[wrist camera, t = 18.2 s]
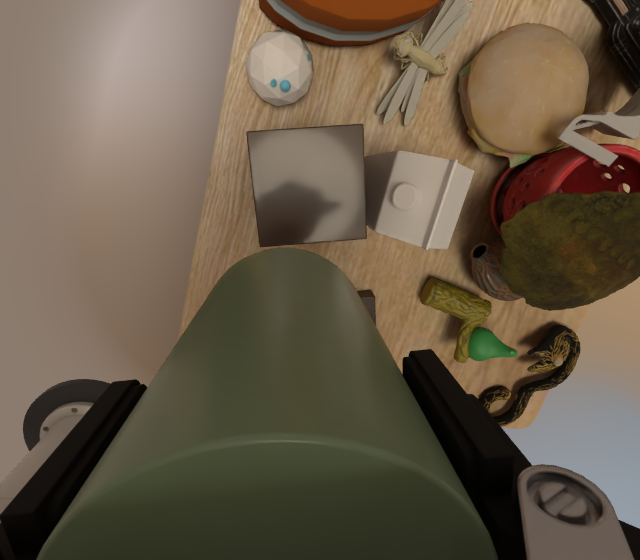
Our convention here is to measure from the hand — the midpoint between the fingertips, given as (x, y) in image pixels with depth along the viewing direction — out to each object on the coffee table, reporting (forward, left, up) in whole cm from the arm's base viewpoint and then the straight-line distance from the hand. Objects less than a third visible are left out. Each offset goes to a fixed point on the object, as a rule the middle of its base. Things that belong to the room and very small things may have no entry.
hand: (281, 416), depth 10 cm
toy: (+18, -14, -37) cm, 44 cm away
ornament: (+18, -2, -38) cm, 43 cm away
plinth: (+5, -2, -39) cm, 39 cm away
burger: (+11, -27, -38) cm, 47 cm away
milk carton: (+3, -12, -39) cm, 41 cm away
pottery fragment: (-8, -23, -28) cm, 38 cm away
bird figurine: (-14, -23, -39) cm, 48 cm away
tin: (0, 0, -6) cm, 6 cm away
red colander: (0, -31, -39) cm, 50 cm away
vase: (-10, -29, -36) cm, 47 cm away
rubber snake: (-30, -35, -37) cm, 59 cm away
